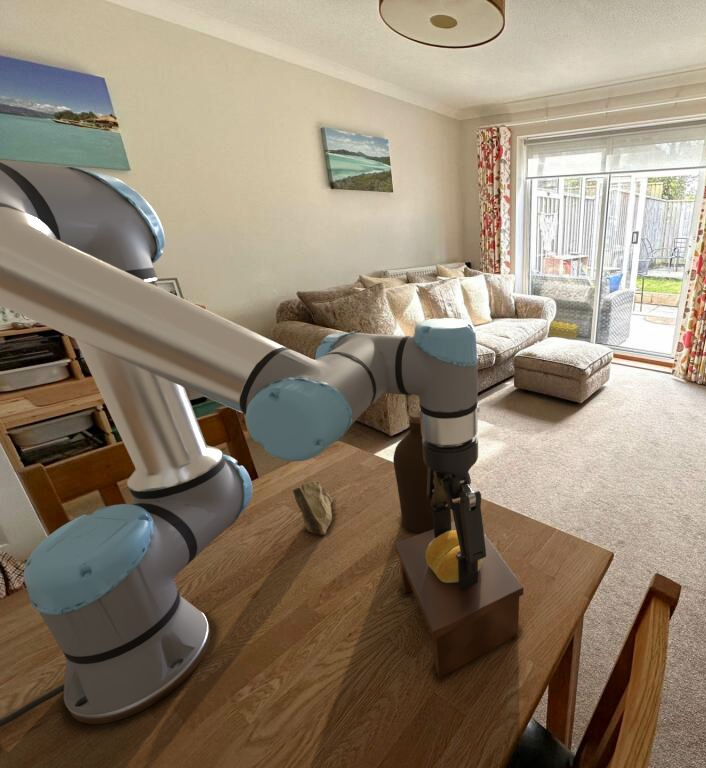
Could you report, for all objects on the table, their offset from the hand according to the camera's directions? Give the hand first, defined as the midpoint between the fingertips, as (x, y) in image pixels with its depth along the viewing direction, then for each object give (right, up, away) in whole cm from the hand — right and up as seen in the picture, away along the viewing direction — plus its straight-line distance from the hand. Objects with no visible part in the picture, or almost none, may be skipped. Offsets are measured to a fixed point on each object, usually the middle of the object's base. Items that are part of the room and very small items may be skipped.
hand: (455, 561), depth 63 cm
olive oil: (-10, -1, +24) cm, 26 cm away
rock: (-32, -1, +24) cm, 40 cm away
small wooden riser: (0, -10, +4) cm, 10 cm away
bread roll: (0, 0, 0) cm, 1 cm away
